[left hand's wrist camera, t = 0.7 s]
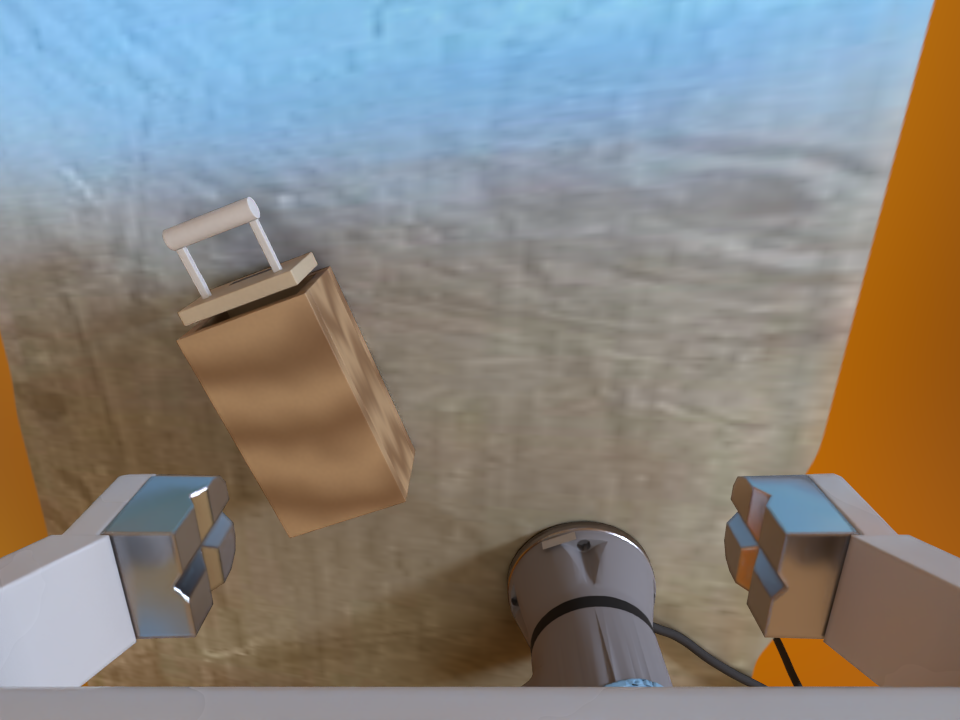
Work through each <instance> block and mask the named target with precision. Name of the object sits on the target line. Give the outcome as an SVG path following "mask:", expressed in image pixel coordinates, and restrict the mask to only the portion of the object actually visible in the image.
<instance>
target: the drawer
mask: <svg viewBox="0 0 960 720" xmlns="http://www.w3.org/2000/svg"><path fill="white" fill-rule="evenodd" d="M259 217H260V212H259V209H258V206H257V204H256V203H255V201H254V200H253V199H252V198H251V197H247V198H244V199H242V200H239V201H237V202H234V203H232V204H229V205H226V206H224V207H221V208H219V209H216V210H214V211H211V212H209V213H206V214H204V215H201V216H198V217H196V218H193V219H191V220H188V221H186V222H183V223H181V224H178V225H176V226H173V227H170V228H168V229H165V230H164V231H163V239H164V241H165V243H166V245H167V246H168V247H169V248H170V249H171V250H174V251H176V250H177V253H178V255H179V256H180V258H181V260H182V262H183V264H184V266H185V267H186V269H187V271H188V273H189V275H190V277H191V278H192V280H193V282H194V284H195V286H196V288H197V289H198V291H199V293H200V295H201V297H199V298H198V299H196V300H195V301H194V302H192V303H191V304H189V305H188V306H186V307H185V308H183V309H182V310H181V311H179V312H178V315H179V317H180V319H181V320H182V322H183V324H184V326H188V325H190V324H193V323H196V322H198V321H201V320H204V319H207V318H209V317H212V316H215V315H217V314H220V313H223V312H226V311H228V310H231V309H234V308H236V307H239V306H242V305H244V304H247V303H250V302H253V301H255V300H258V299H261V298H263V297H266V296H269V295H271V294H274V293H277V292H280V291H282V290H285V289H288V288H290V287H293V286H296V285H298V284H299V283H300V282H301V281H302V280H303V279H304V278H305V277H306V276H307V275H308V274H309V273H310V272H311V271H312V270H313V269H314V268H315V267H316V266H317V262H316V260H315V258H314V256H313V253H312V252H310V253H307V254H304V255H302V256H299V257H296V258H294V259H291V260H288V261H286V262H283V263H279V261H278V259H277V257H276V255H275V253H274V251H273V249H272V247H271V244H270V242H269V240H268V238H267V236H266V234H265V232H264V230H263V228H262V226H261V224H260V222H259V220H258V218H259ZM248 222H249V224H250V226H251V228H252V230H253V232H254V234H255V236H256V238H257V240H258V242H259V244H260V246H261V248H262V250H263V252H264V254H265V256H266V258H267V260H268V262H269V264H270V266H271V267H270V268H267V269H264V270H262V271H259V272H256V273H254V274H251V275H248V276H246V277H243V278H240V279H238V280H235V281H232V282H230V283H227V284H224V285H222V286H219V287H216V288H214V289H211V290H209V288H208V286H207V285H206V283H205V281H204V279H203V277H202V275H201V273H200V272H199V270H198V268H197V266H196V264H195V262H194V261H193V259H192V257H191V255H190V253H189V251H188V249H187V248H186V246H189V245H191V244H194V243H196V242H199V241H201V240H204V239H207V238H209V237H212V236H214V235H217V234H219V233H222V232H225V231H227V230H230V229H232V228H235V227H238V226H240V225H243V224H245V223H248ZM292 296H293V295H292ZM289 297H290V296H289ZM281 300H282V299H281ZM278 301H279V300H278ZM273 303H274V302H273ZM270 304H271V303H270ZM262 307H263V306H262ZM259 308H260V307H259ZM254 310H255V309H254ZM251 311H252V310H251ZM248 312H249V311H248ZM243 314H244V313H243ZM240 315H241V314H240Z"/></svg>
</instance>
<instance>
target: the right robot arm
mask: <svg viewBox="0 0 960 720" xmlns="http://www.w3.org/2000/svg"><path fill="white" fill-rule="evenodd" d="M507 589H508V600H509V604H510V608H511V611H512V614H513V616H514V618H515V620H516V622H517V624H518V626H519V628H520V630H521V632H522V633H523V635H524V637H525V639H526V641H527V643H528V645H529V647H530V648H531V658H532V672H533V675H532V677H531V679H530V680H529V681H528V682H527V683H525V684H524V685H523V686H521V687H673V686H672V683H671V680H670V677H669V674H668V671H667V668H666V665H665V662H664V659H663V656H662V653H661V650H660V647H659V645H658V642H657V639H656V636H655V633H657V634H660V635H663V636H666V637H669V638H671V639H673V640H675V641H677V642H679V643H680V644H682V645H683V646H685V647H686V648H688V649H689V650H690V651H692V652H693V653H694V654H696V655H697V656H698V657H700V658H701V659H702V660H704V661H705V662H706V663H708V664H709V665H711V666H713V667H714V668H716V669H718V670H719V671H721V672H723V673H724V674H726V675H728V676H729V677H731V678H733V679H735V680H737V681H739V682H741V683H743V684H745V685H747V686H749V687H768V686H766V685H764V684H762V683H760V682H758V681H756V680H754V679H752V678H750V677H748V676H746V675H744V674H742V673H740V672H738V671H736V670H735V669H733V668H731V667H729V666H728V665H726V664H724V663H723V662H721V661H719V660H718V659H716V658H715V657H713V656H712V655H710V654H709V653H707V652H706V651H705V650H703V649H702V648H701V647H699V646H698V645H697V644H695V643H694V642H693V641H692V640H690V639H689V638H687V637H686V636H684V635H683V634H681V633H679V632H677V631H675V630H673V629H670V628H668V627H664V626H661V625H659V624H656V623H654V622H653V610H654V603H655V596H656V584H655V576H654V572H653V569H652V566H651V564H650V561H649V559H648V556H647V554H646V552H645V551H644V549H643V548H642V547H641V545H640V544H639V543H638V542H637V541H636V540H635V539H634V538H633V537H631V536H630V535H628V534H627V533H625V532H624V531H622V530H620V529H618V528H615V527H612V526H610V525H606V524H602V523H596V522H571V523H565V524H561V525H557V526H554V527H552V528H549V529H547V530H545V531H543V532H541V533H539V534H537V535H536V536H534V537H533V538H532V539H530V540H529V541H528V542H527V543H526V544H525V545H524V546H523V547H522V548H521V549H520V550H519V551H518V553H517V554H516V556H515V557H514V559H513V561H512V563H511V566H510V568H509V572H508V578H507ZM773 641H774V643H775V645H776V648H777V650H778V652H779V654H780V656H781V659H782V661H783V664H784V666H785V668H786V671H787V673H788V675H789V678H790V680H791V682H792V684H793V686H794V687H803V686H802V684H801V682H800V680H799V678H798V676H797V674H796V672H795V670H794V667H793V665H792V663H791V660H790V658H789V656H788V654H787V652H786V649H785V647H784V645H783V643H782V641H781V639H780V638H773Z"/></svg>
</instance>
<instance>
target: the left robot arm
mask: <svg viewBox="0 0 960 720" xmlns="http://www.w3.org/2000/svg"><path fill="white" fill-rule="evenodd" d="M228 500H229V496H228V491H227V486H226V482H225V480H224V479H223V478H222V477H221V476H220V475H170V474H158V475H156V474H127V475H122V476H119V477H118V478H117V479H116V480H115V481H114V482H113V483H112V484H111V485H110V486H109V487H108V488H107V489H106V490H105V491H104V492H103V493H102V494H101V495H100V496H99V497H98V498H97V499H96V500H95V502H94V503H93V504H92V505H91V506H90V507H89V508H88V509H87V510H86V511H85V512H84V513H83V514H82V515H81V516H80V517H79V518H78V519H77V520H76V521H75V522H74V523H73V524H72V525H71V526H70V527H69V528H68V529H67V530H66V531H65V532H64V533H63V534H62V535H50V536H48V537H46V538H44V539H41V540H39V541H37V542H35V543H33V544H30V545H28V546H26V547H24V548H22V549H19V550H17V551H15V552H13V553H11V554H8V555H6V556H4V557H2V558H0V720H960V558H958V557H956V556H954V555H951V554H949V553H947V552H945V551H943V550H940V549H938V548H936V547H934V546H932V545H929V544H927V543H925V542H923V541H921V540H919V539H916V538H914V537H912V536H910V535H898V534H897V533H896V532H895V531H894V530H893V529H892V528H891V527H890V526H889V525H888V524H887V523H886V522H885V521H884V520H883V519H882V518H881V517H880V516H879V515H878V514H877V513H876V512H875V511H874V510H873V509H872V508H871V507H870V505H869V504H868V503H867V502H866V501H865V500H864V499H863V498H862V497H861V496H860V495H859V494H858V493H857V492H856V491H855V490H854V489H853V488H852V487H851V486H850V485H849V484H848V483H847V482H846V481H845V480H844V479H843V478H842V477H841V476H838V475H836V474H809V475H779V476H741V477H737V479H736V481H735V483H734V485H733V490H732V495H731V500H732V502H733V504H734V505H735V507H736V509H737V510H738V512H737V513H736V514H735V515H734V516H733V517H732V518H731V519H730V520H729V521H728V522H727V524H726V531H725V539H724V544H725V556H726V561H727V564H728V568H729V571H730V573H731V575H732V577H733V579H734V581H735V583H737V584H738V585H740V586H741V587H743V588H744V589H746V590H747V591H749V594H748V599H747V605H748V607H749V609H750V611H751V613H752V615H753V616H754V618H755V620H756V622H757V624H758V626H759V627H760V629H761V631H762V633H763V635H764V637H774V638H812V639H824V642H825V643H826V644H827V645H828V646H830V647H831V648H832V649H833V650H835V651H836V652H837V653H838V654H840V655H841V656H842V657H843V658H845V659H846V660H847V661H848V662H850V663H851V664H852V665H853V666H855V667H856V668H857V669H858V670H860V671H861V672H862V673H863V674H865V675H866V676H867V677H869V678H870V679H871V680H872V681H874V682H875V683H876V684H877V685H879V686H880V687H80V686H82V685H83V684H84V683H85V682H87V681H88V680H89V679H90V678H92V677H93V676H94V675H95V674H97V673H98V672H99V671H100V670H102V669H103V668H104V667H106V666H107V665H108V664H109V663H111V662H112V661H113V660H114V659H116V658H117V657H118V656H119V655H121V654H122V653H123V652H124V651H126V650H127V649H128V648H129V647H131V646H132V645H133V644H134V643H136V639H149V638H184V637H196V635H197V633H198V631H199V629H200V628H201V626H202V624H203V622H204V620H205V618H206V616H207V615H208V613H209V611H210V609H211V607H212V605H213V599H212V594H211V591H213V590H214V589H216V588H217V587H219V586H220V585H222V584H223V583H225V581H226V579H227V577H228V575H229V573H230V571H231V568H232V564H233V559H234V555H235V530H234V524H233V522H232V521H231V520H230V519H229V518H228V517H227V516H226V515H225V514H224V513H223V512H222V510H223V509H224V507H225V505H226V504H227V502H228Z"/></svg>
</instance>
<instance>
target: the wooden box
mask: <svg viewBox="0 0 960 720" xmlns="http://www.w3.org/2000/svg"><path fill="white" fill-rule="evenodd" d="M292 295H293V296H292ZM289 296H290V297H289ZM281 299H282V300H281ZM278 300H279V301H278ZM273 302H274V303H273ZM270 303H271V304H270ZM262 306H263V307H262ZM259 307H260V308H259ZM254 309H255V310H254ZM251 310H252V311H251ZM248 311H249V312H248ZM243 313H244V314H243ZM240 314H241V315H240ZM177 343H178V345H179V347H180V348H181V350H182V352H183V354H184V355H185V357H186V359H187V361H188V362H189V364H190V366H191V367H192V369H193V371H194V373H195V374H196V376H197V378H198V380H199V381H200V383H201V385H202V387H203V388H204V390H205V392H206V393H207V395H208V397H209V399H210V400H211V402H212V404H213V406H214V407H215V409H216V411H217V413H218V414H219V416H220V418H221V419H222V421H223V423H224V425H225V426H226V428H227V430H228V432H229V433H230V435H231V437H232V439H233V440H234V442H235V444H236V445H237V447H238V449H239V451H240V452H241V454H242V456H243V458H244V459H245V461H246V463H247V465H248V466H249V468H250V470H251V471H252V473H253V475H254V477H255V478H256V480H257V482H258V484H259V485H260V487H261V489H262V491H263V492H264V494H265V496H266V497H267V499H268V501H269V503H270V504H271V506H272V508H273V510H274V511H275V513H276V515H277V517H278V518H279V520H280V522H281V523H282V525H283V527H284V529H285V530H286V532H287V534H288V536H289V537H290V538H292V537H295V536H298V535H301V534H305V533H308V532H311V531H314V530H317V529H320V528H324V527H327V526H330V525H333V524H336V523H340V522H343V521H346V520H349V519H352V518H355V517H359V516H362V515H365V514H368V513H371V512H375V511H378V510H381V509H384V508H387V507H390V506H394V505H397V504H400V503H403V502H406V497H407V492H408V487H409V481H410V476H411V471H412V465H413V460H414V454H415V449H414V447H413V445H412V443H411V441H410V438H409V436H408V434H407V432H406V430H405V428H404V425H403V423H402V421H401V419H400V417H399V415H398V412H397V410H396V408H395V406H394V404H393V402H392V399H391V397H390V395H389V393H388V391H387V389H386V386H385V384H384V382H383V380H382V378H381V376H380V373H379V371H378V369H377V367H376V365H375V362H374V360H373V358H372V356H371V354H370V352H369V349H368V347H367V345H366V343H365V341H364V339H363V336H362V334H361V332H360V330H359V328H358V326H357V323H356V321H355V319H354V317H353V315H352V313H351V310H350V308H349V306H348V304H347V302H346V300H345V297H344V295H343V293H342V291H341V289H340V286H339V284H338V282H337V280H336V278H335V276H334V273H333V271H332V269H331V267H330V266H329V267H326V268H324V269H321V270H318V271H316V272H313V273H310V274H308V275H307V276H306V277H305V278H304V279H303V280H302V281H301V282H300V283H299V284H298V285H296V286H293V287H290V288H288V289H285V290H282V291H280V292H277V293H274V294H271V295H269V296H266V297H263V298H261V299H258V300H255V301H253V302H250V303H247V304H244V305H242V306H239V307H236V308H234V309H231V310H228V311H226V312H223V313H220V314H217V315H215V316H212V317H209V318H207V319H204V320H202V321H201V322H200V323H198V324H197V325H196V326H195V327H193V328H192V329H191V330H189V331H188V332H187V333H186V334H184V335H183V336H182V337H180V338H179V339H178V340H177Z"/></svg>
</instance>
